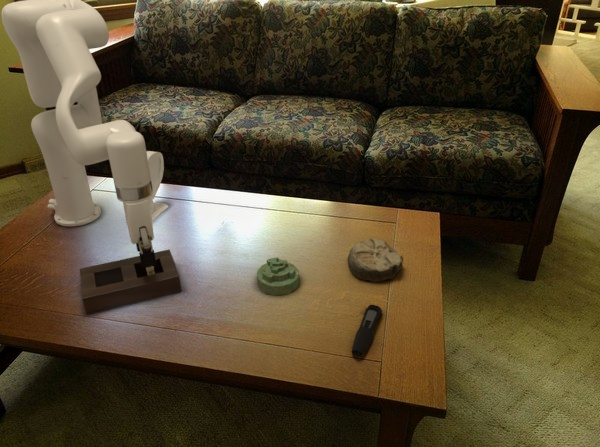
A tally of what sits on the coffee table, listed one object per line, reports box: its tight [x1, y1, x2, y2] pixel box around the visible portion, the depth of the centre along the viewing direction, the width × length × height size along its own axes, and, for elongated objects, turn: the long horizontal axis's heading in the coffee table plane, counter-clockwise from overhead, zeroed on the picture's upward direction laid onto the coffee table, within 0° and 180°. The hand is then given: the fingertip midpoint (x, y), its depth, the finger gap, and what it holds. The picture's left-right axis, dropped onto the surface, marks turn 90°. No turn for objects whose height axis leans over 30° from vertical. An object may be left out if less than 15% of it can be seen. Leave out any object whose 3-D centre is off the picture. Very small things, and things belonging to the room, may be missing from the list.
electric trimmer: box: [350, 304, 383, 357], centre depth 108 cm, size 4×16×3 cm, turn 159°
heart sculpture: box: [146, 150, 169, 222], centre depth 148 cm, size 16×5×18 cm, turn 162°
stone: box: [347, 237, 404, 283], centre depth 128 cm, size 13×13×5 cm
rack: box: [79, 249, 182, 315], centre depth 121 cm, size 12×21×4 cm, turn 113°
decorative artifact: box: [256, 257, 300, 296], centre depth 123 cm, size 10×7×10 cm
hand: (146, 257), depth 120 cm, fingers open, 6 cm apart
